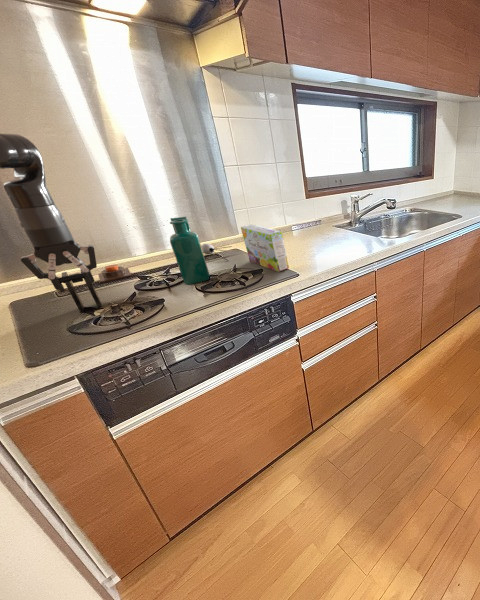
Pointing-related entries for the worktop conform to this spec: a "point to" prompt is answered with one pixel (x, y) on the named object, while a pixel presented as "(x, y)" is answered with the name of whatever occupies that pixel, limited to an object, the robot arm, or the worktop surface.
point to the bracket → (76, 296)
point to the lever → (72, 278)
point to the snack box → (265, 247)
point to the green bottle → (188, 252)
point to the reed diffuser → (210, 249)
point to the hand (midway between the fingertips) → (77, 287)
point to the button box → (114, 275)
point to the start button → (111, 268)
